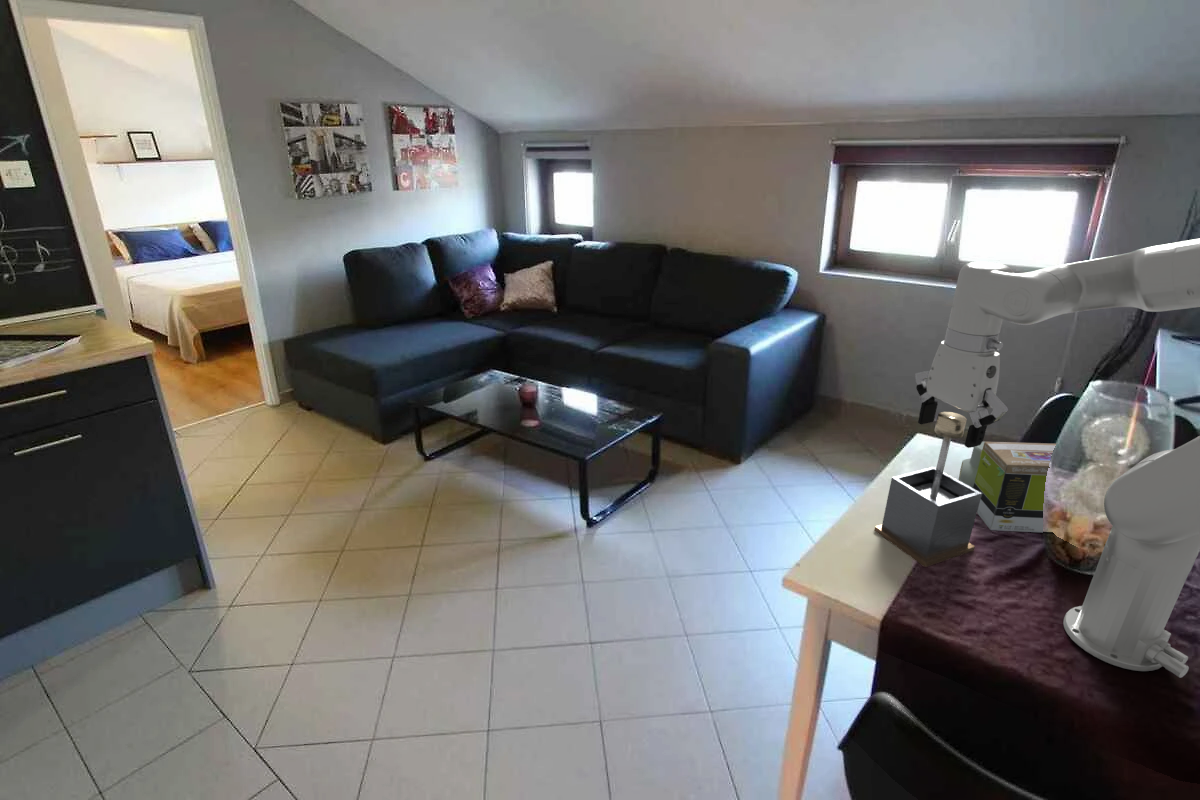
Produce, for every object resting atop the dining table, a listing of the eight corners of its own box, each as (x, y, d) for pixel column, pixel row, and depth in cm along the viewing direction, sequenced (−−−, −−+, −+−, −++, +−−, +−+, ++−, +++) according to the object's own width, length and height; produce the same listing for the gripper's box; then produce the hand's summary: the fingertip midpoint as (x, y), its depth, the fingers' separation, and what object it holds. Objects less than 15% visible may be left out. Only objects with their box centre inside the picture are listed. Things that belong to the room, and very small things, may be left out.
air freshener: (1001, 506, 133) (1014, 463, 129) (956, 495, 136) (966, 453, 132) (1001, 482, 141) (1013, 441, 137) (958, 472, 145) (969, 432, 141)
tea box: (1044, 507, 132) (1065, 442, 126) (1072, 536, 123) (1096, 468, 117) (967, 503, 134) (984, 438, 128) (988, 531, 125) (1008, 463, 119)
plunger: (967, 507, 117) (989, 422, 110) (934, 517, 114) (955, 430, 107) (930, 486, 123) (949, 404, 117) (898, 495, 120) (916, 412, 114)
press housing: (973, 550, 119) (989, 494, 114) (925, 567, 115) (939, 509, 110) (920, 516, 129) (933, 463, 124) (874, 530, 125) (885, 476, 120)
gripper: (1037, 353, 100) (1009, 451, 107) (943, 322, 115) (923, 411, 122) (1003, 359, 98) (976, 460, 104) (911, 327, 112) (893, 418, 119)
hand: (948, 433), depth 113 cm, fingers open, 9 cm apart
